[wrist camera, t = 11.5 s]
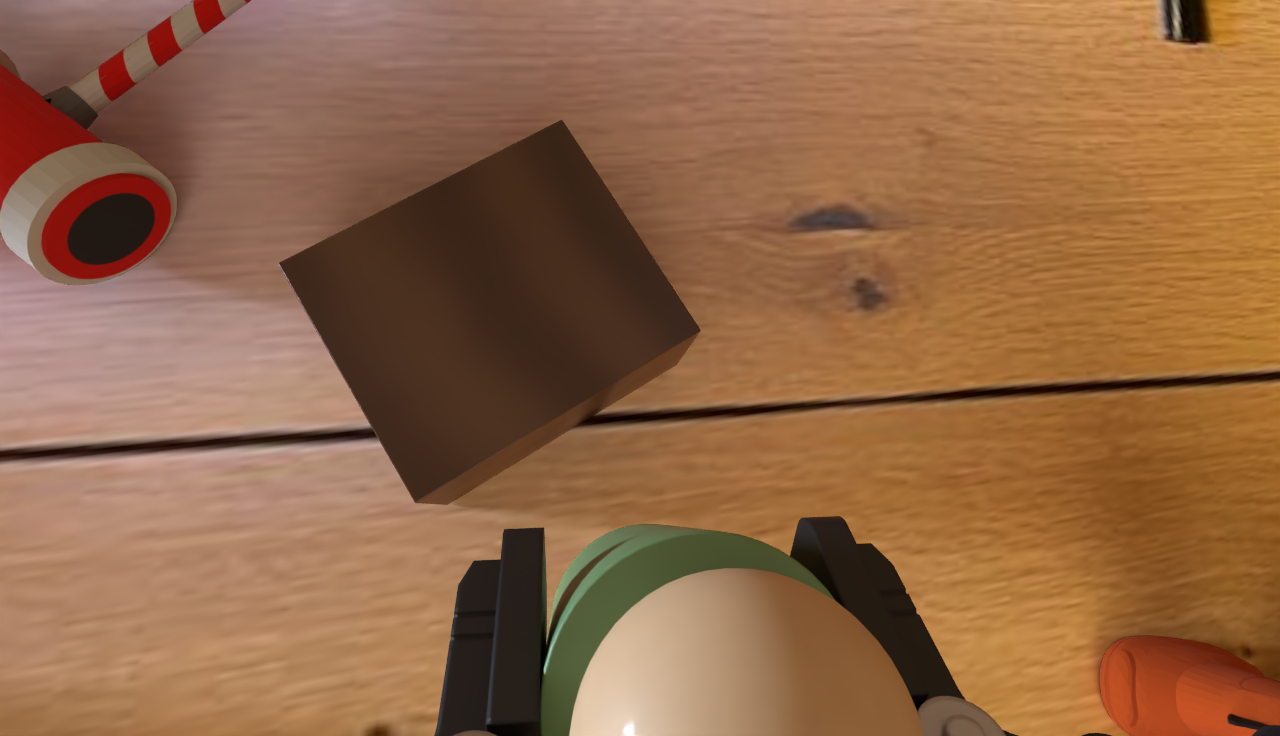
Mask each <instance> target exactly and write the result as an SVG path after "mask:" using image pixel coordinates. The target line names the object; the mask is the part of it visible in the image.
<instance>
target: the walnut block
mask: <svg viewBox="0 0 1280 736" xmlns="http://www.w3.org/2000/svg"><path fill="white" fill-rule="evenodd" d="M279 266H280V268H281V269H282V271H283V273H284V275H285V276H286V278H287V280H288V282H289V283H290V285H291V287H292V289H293V290H294V292H295V294H296V296H297V297H298V299H299V301H300V303H301V304H302V306H303V308H304V310H305V311H306V313H307V315H308V317H309V318H310V320H311V322H312V324H313V325H314V327H315V329H316V331H317V332H318V334H319V336H320V338H321V339H322V341H323V343H324V345H325V346H326V348H327V350H328V352H329V353H330V355H331V357H332V359H333V360H334V362H335V364H336V366H337V367H338V369H339V371H340V372H341V374H342V376H343V378H344V379H345V381H346V383H347V385H348V386H349V388H350V390H351V392H352V393H353V395H354V397H355V399H356V400H357V402H358V404H359V406H360V407H361V409H362V411H363V413H364V414H365V416H366V418H367V420H368V421H369V423H370V425H371V427H372V428H373V430H374V432H375V434H376V435H377V437H378V439H379V441H380V442H381V444H382V446H383V448H384V449H385V451H386V453H387V455H388V456H389V458H390V460H391V462H392V463H393V465H394V467H395V469H396V470H397V472H398V474H399V476H400V477H401V479H402V481H403V483H404V484H405V486H406V488H407V490H408V491H409V493H410V495H411V497H412V498H413V500H414V502H415V503H426V504H442V505H448V504H449V503H451V502H453V501H454V500H456V499H458V498H459V497H461V496H463V495H464V494H466V493H467V492H469V491H471V490H472V489H474V488H476V487H477V486H479V485H481V484H482V483H484V482H485V481H487V480H489V479H490V478H492V477H494V476H495V475H497V474H498V473H500V472H502V471H503V470H505V469H507V468H508V467H510V466H512V465H513V464H515V463H516V462H518V461H520V460H521V459H523V458H525V457H526V456H528V455H530V454H531V453H533V452H534V451H536V450H538V449H539V448H541V447H543V446H544V445H546V444H548V443H549V442H551V441H552V440H554V439H556V438H557V437H559V436H561V435H562V434H564V433H566V432H567V431H569V430H570V429H572V428H574V427H575V426H577V425H579V424H580V423H582V422H584V421H585V420H587V419H588V418H590V417H592V416H593V415H595V414H597V413H598V412H600V411H602V410H603V409H605V408H606V407H608V406H610V405H611V404H613V403H615V402H616V401H618V400H620V399H621V398H623V397H624V396H626V395H628V394H629V393H631V392H633V391H634V390H636V389H637V388H639V387H641V386H642V385H644V384H646V383H647V382H649V381H651V380H652V379H654V378H655V377H657V376H659V375H660V374H662V373H664V372H665V371H667V370H669V369H670V368H672V367H673V366H675V365H677V363H678V362H679V360H680V359H681V358H682V356H683V355H684V353H685V352H686V350H687V349H688V348H689V346H690V345H691V343H692V342H693V341H694V339H695V338H696V336H697V335H698V333H699V332H700V328H699V327H698V325H697V324H696V322H695V321H694V319H693V318H692V316H691V315H690V313H689V312H688V310H687V309H686V307H685V306H684V304H683V303H682V301H681V300H680V298H679V296H678V295H677V293H676V292H675V290H674V289H673V287H672V286H671V284H670V283H669V281H668V280H667V278H666V277H665V275H664V274H663V272H662V271H661V269H660V268H659V266H658V265H657V263H656V262H655V260H654V259H653V257H652V256H651V254H650V252H649V251H648V249H647V248H646V246H645V245H644V243H643V242H642V240H641V239H640V237H639V236H638V234H637V233H636V231H635V230H634V228H633V227H632V225H631V224H630V222H629V221H628V219H627V218H626V216H625V215H624V213H623V211H622V210H621V208H620V207H619V205H618V204H617V202H616V201H615V199H614V198H613V196H612V195H611V193H610V192H609V190H608V189H607V187H606V186H605V184H604V183H603V181H602V180H601V178H600V177H599V175H598V174H597V172H596V171H595V169H594V167H593V166H592V164H591V163H590V161H589V160H588V158H587V157H586V155H585V154H584V152H583V151H582V149H581V148H580V146H579V145H578V143H577V142H576V140H575V139H574V137H573V136H572V134H571V133H570V131H569V130H568V128H567V126H566V125H565V123H564V122H563V121H562V120H560V121H558V122H556V123H554V124H552V125H550V126H548V127H547V128H545V129H543V130H541V131H539V132H537V133H535V134H533V135H531V136H529V137H527V138H525V139H523V140H521V141H519V142H517V143H515V144H513V145H511V146H509V147H507V148H505V149H503V150H501V151H499V152H497V153H495V154H493V155H491V156H489V157H487V158H485V159H483V160H481V161H479V162H477V163H475V164H473V165H471V166H469V167H467V168H466V169H464V170H462V171H460V172H458V173H456V174H454V175H452V176H450V177H448V178H446V179H444V180H442V181H440V182H438V183H436V184H434V185H432V186H430V187H428V188H426V189H424V190H422V191H420V192H418V193H416V194H414V195H412V196H410V197H408V198H406V199H404V200H402V201H400V202H398V203H396V204H394V205H392V206H390V207H388V208H386V209H385V210H383V211H381V212H379V213H377V214H375V215H373V216H371V217H369V218H367V219H365V220H363V221H361V222H359V223H357V224H355V225H353V226H351V227H349V228H347V229H345V230H343V231H341V232H339V233H337V234H335V235H333V236H331V237H329V238H327V239H325V240H323V241H321V242H319V243H317V244H315V245H313V246H311V247H309V248H307V249H305V250H304V251H302V252H300V253H298V254H296V255H294V256H292V257H290V258H288V259H286V260H284V261H282V262H280V263H279Z"/></svg>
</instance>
